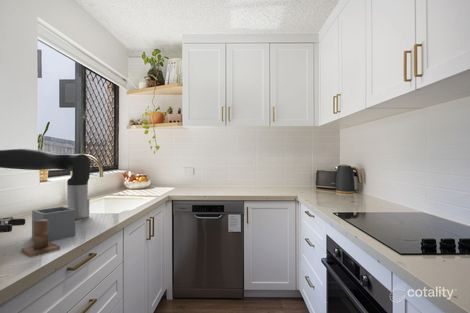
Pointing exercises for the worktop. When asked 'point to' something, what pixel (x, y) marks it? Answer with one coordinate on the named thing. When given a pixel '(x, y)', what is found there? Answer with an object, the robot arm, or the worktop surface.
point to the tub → (56, 222)
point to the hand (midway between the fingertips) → (18, 224)
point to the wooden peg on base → (40, 240)
